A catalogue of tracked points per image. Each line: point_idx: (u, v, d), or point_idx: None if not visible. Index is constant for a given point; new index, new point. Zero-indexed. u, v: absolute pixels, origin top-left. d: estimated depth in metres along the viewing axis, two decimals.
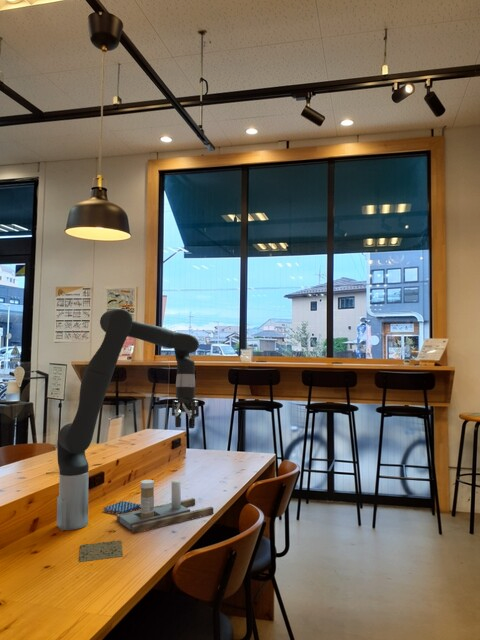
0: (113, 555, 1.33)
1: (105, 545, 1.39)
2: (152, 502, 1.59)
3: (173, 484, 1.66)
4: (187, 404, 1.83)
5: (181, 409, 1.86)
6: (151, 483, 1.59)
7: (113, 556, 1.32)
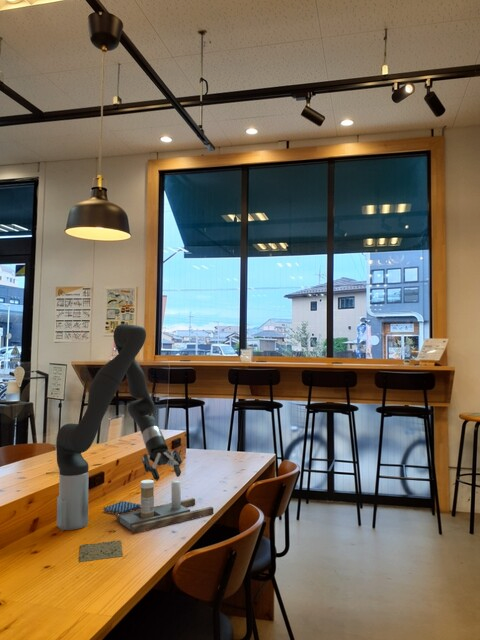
0: (113, 555, 1.33)
1: (105, 545, 1.39)
2: (152, 502, 1.59)
3: (173, 484, 1.66)
4: (168, 453, 1.78)
5: (161, 459, 1.75)
6: (151, 483, 1.59)
7: (113, 556, 1.32)
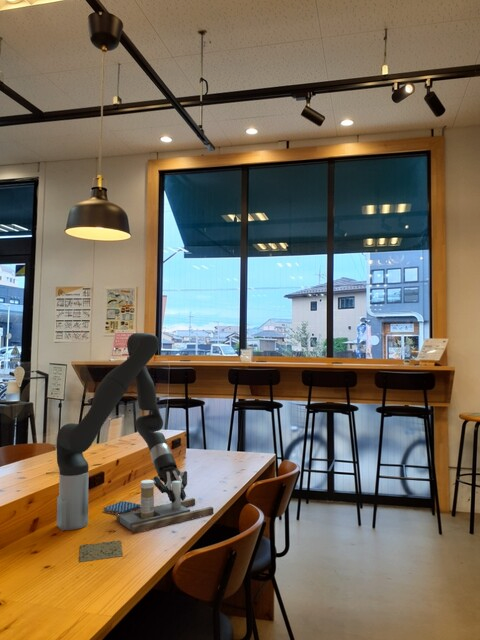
0: (113, 555, 1.33)
1: (105, 545, 1.39)
2: (152, 502, 1.59)
3: (173, 484, 1.66)
4: (177, 474, 1.72)
5: (171, 477, 1.70)
6: (151, 483, 1.59)
7: (113, 556, 1.32)
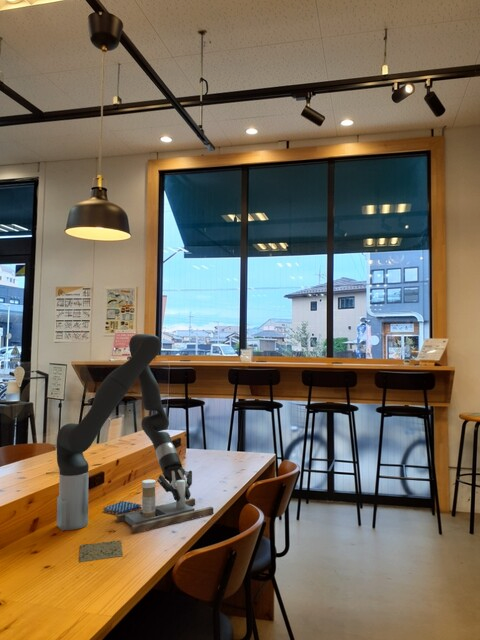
0: (113, 555, 1.33)
1: (105, 545, 1.39)
2: (153, 502, 1.60)
3: (178, 483, 1.67)
4: (182, 473, 1.73)
5: (176, 476, 1.71)
6: (152, 483, 1.60)
7: (113, 556, 1.32)
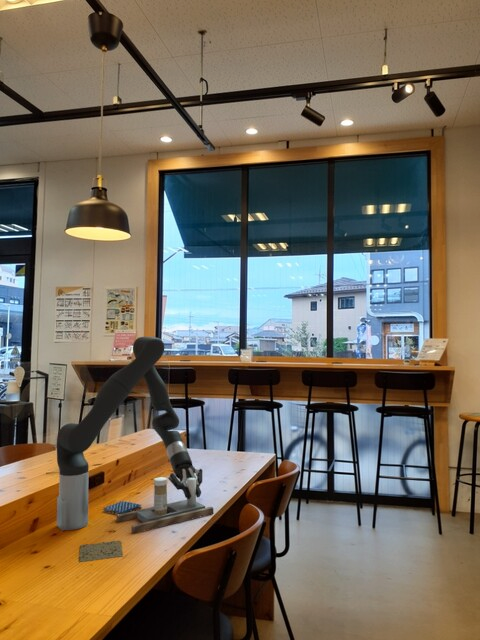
0: (113, 554, 1.33)
1: (105, 545, 1.39)
2: (165, 499, 1.62)
3: (189, 481, 1.69)
4: (193, 471, 1.75)
5: (187, 474, 1.73)
6: (164, 480, 1.62)
7: (113, 556, 1.32)
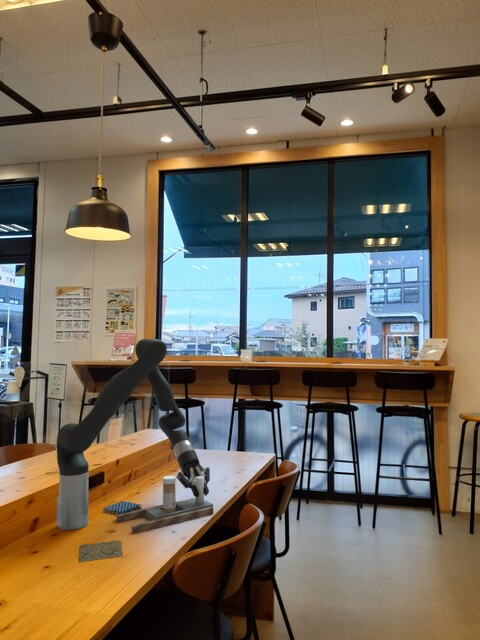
0: (113, 555, 1.33)
1: (105, 545, 1.39)
2: (174, 498, 1.64)
3: (197, 479, 1.71)
4: (200, 470, 1.77)
5: (195, 473, 1.75)
6: (173, 479, 1.64)
7: (113, 556, 1.32)
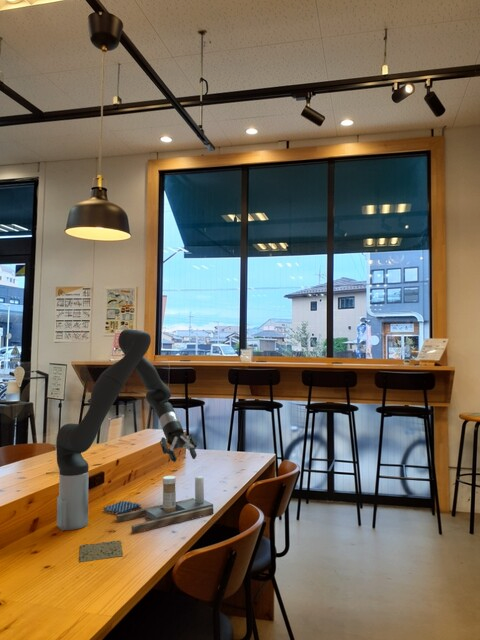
0: (113, 554, 1.33)
1: (105, 545, 1.39)
2: (174, 498, 1.64)
3: (197, 479, 1.71)
4: (184, 437, 1.89)
5: (177, 442, 1.86)
6: (173, 479, 1.64)
7: (113, 556, 1.32)
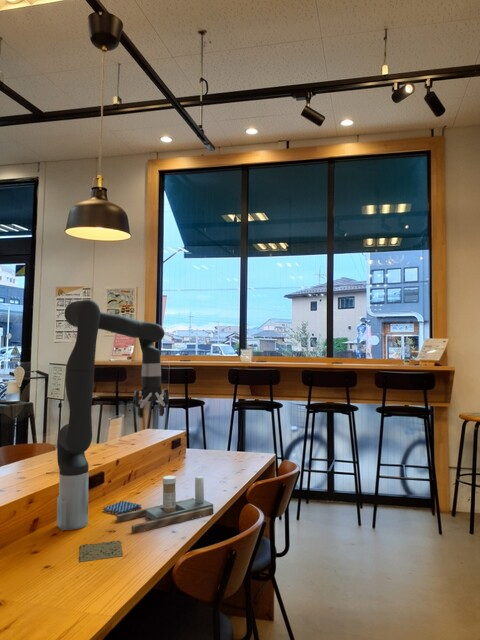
0: (113, 554, 1.33)
1: (105, 545, 1.39)
2: (174, 498, 1.64)
3: (197, 479, 1.71)
4: (159, 393, 1.86)
5: (150, 398, 1.84)
6: (173, 479, 1.64)
7: (113, 556, 1.32)
